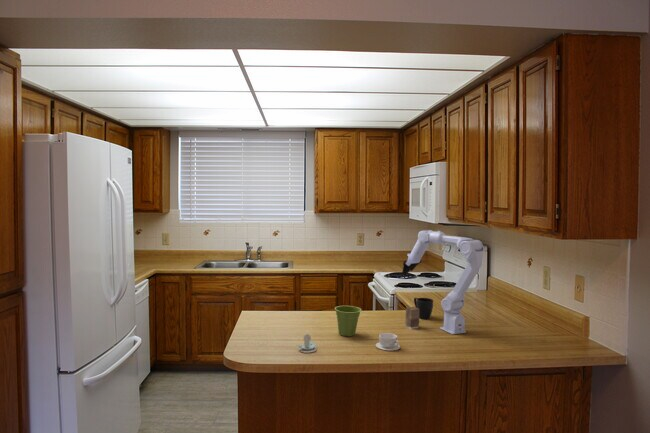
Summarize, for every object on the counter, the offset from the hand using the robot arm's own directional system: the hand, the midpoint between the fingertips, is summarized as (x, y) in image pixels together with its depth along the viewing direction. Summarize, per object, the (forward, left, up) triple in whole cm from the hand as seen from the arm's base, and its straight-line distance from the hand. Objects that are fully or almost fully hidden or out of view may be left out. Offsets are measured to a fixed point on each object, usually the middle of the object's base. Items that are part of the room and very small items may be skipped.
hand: (406, 272), depth 214 cm
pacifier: (-30, +65, -23) cm, 75 cm away
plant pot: (-17, +42, -23) cm, 50 cm away
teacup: (-36, +33, -23) cm, 54 cm away
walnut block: (-17, +8, -23) cm, 29 cm away
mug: (-4, -7, -23) cm, 25 cm away
